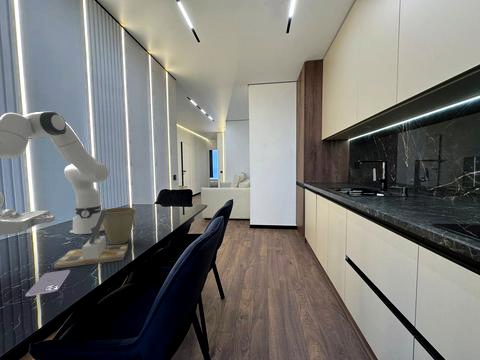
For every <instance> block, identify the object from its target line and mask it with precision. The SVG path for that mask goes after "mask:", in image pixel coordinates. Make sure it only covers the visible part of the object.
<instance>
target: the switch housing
mask: <svg viewBox="0 0 480 360" xmlns="http://www.w3.org/2000/svg"><path fill="white" fill-rule="evenodd" d="M89 241H90V239H89V240H87V242H85V244H84V245H83V246H82V247H81V249H82V256H83V260H88V259H97V258H99V256H100V255H101V254H102V252H103V251H104V249H105V248H106V246H107V235H100V236H99V237H98V238H97V239H96V240H95V241H94V242H93V244H89Z"/></svg>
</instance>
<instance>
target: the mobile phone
mask: <svg viewBox="0 0 480 360" xmlns="http://www.w3.org/2000/svg"><path fill="white" fill-rule="evenodd" d="M70 272H71V270H70V269H65V270H58V271H57V270H56V271H50V272H47V273H43V274H42V276H41V277H40V278H38V280H37V281H36V282H35V283H34V284H33V286H32V287H30V289H29V290H28V291H27V292H26V293H25V297H33V296H38V295H43V294H50V293H54V292H56V291H58V290H59V289H60V287H62V285H63V283H64V282H65V280H66V278H67V277H68V275H69V274H70Z"/></svg>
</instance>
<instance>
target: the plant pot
mask: <svg viewBox="0 0 480 360" xmlns="http://www.w3.org/2000/svg"><path fill="white" fill-rule="evenodd" d="M106 209H107V212H106V214H105V217H104V219H103V222H102V223H103V226H104V229H105V230H104V233H105V236H106V238H107V239H108V241H109V243H110V245H111V246H115V245H124V244H127V242H128V241H129V238H130V236H131V233H132V229H133V225H134V222H135V221H134V219H135V215H136V208H135V207H123V206H122V207H112V208H106ZM102 210H103V209H101V211H100V213H101V212H102Z"/></svg>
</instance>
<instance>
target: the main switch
mask: <svg viewBox="0 0 480 360" xmlns="http://www.w3.org/2000/svg"><path fill="white" fill-rule="evenodd" d="M107 209H108V208H105V207H104V208H103V209H101V210H102V212H101V215H100V217H99V220H98V222H97V225H96V227H95V229H94V232H93V233H91V234H92V235H91V238H90V239H89V240H90V241H89V240H88V241H89V244H93V242H94V241H95V240H96V237H97V234H98V232H99V229H100V227H101V224H102V222H103V219H104V217H105V214H106V212H107ZM99 233H100V232H99Z"/></svg>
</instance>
